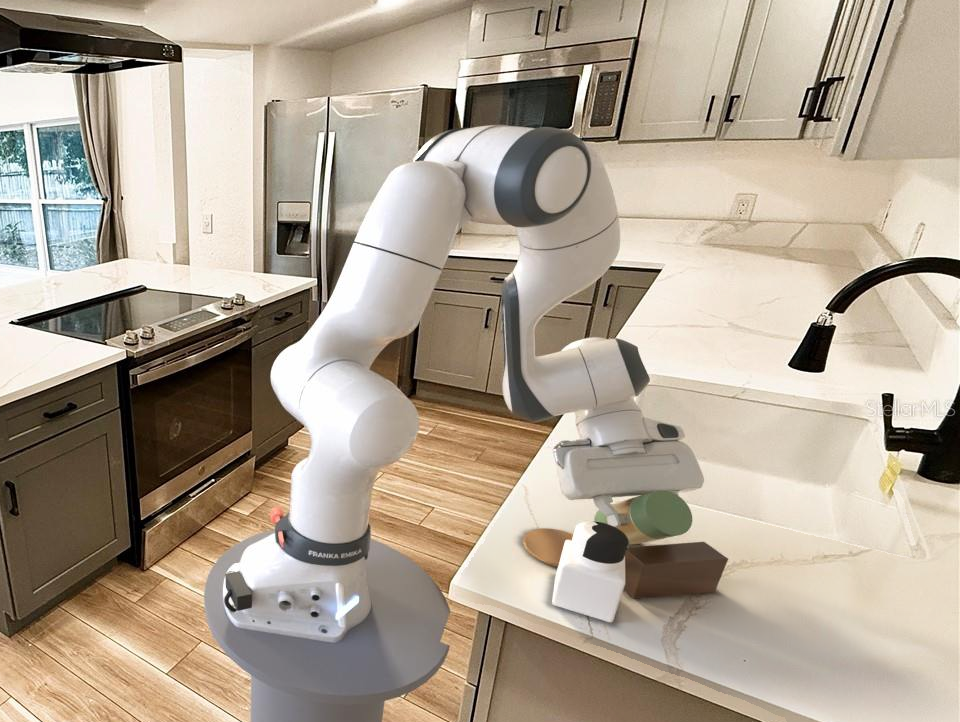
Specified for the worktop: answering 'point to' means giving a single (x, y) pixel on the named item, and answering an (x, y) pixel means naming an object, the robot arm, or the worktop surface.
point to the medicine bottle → (592, 571)
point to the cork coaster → (546, 544)
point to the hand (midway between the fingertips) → (645, 524)
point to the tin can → (652, 516)
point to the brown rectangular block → (672, 569)
